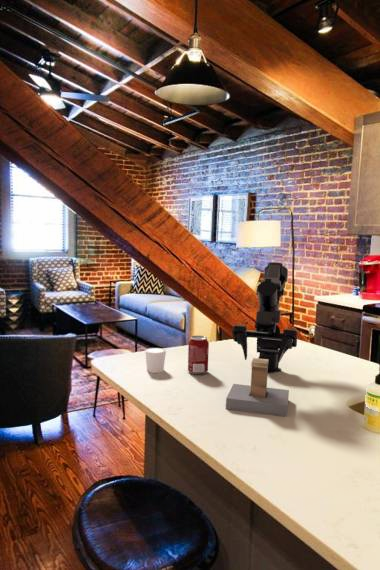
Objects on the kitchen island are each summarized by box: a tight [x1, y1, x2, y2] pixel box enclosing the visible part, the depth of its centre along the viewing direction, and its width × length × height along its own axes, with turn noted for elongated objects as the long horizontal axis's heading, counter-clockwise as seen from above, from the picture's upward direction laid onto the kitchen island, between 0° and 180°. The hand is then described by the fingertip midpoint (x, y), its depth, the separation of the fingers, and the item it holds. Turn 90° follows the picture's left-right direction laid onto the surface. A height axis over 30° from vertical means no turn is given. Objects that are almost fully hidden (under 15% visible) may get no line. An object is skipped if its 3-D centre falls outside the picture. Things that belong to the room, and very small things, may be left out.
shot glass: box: [145, 347, 167, 374], centre depth 154 cm, size 7×7×7 cm
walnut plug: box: [250, 357, 269, 398], centre depth 126 cm, size 4×4×12 cm
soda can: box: [187, 335, 210, 376], centre depth 152 cm, size 7×7×12 cm
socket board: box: [225, 383, 290, 417], centre depth 126 cm, size 12×16×3 cm
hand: (261, 360), depth 130 cm, fingers open, 9 cm apart
